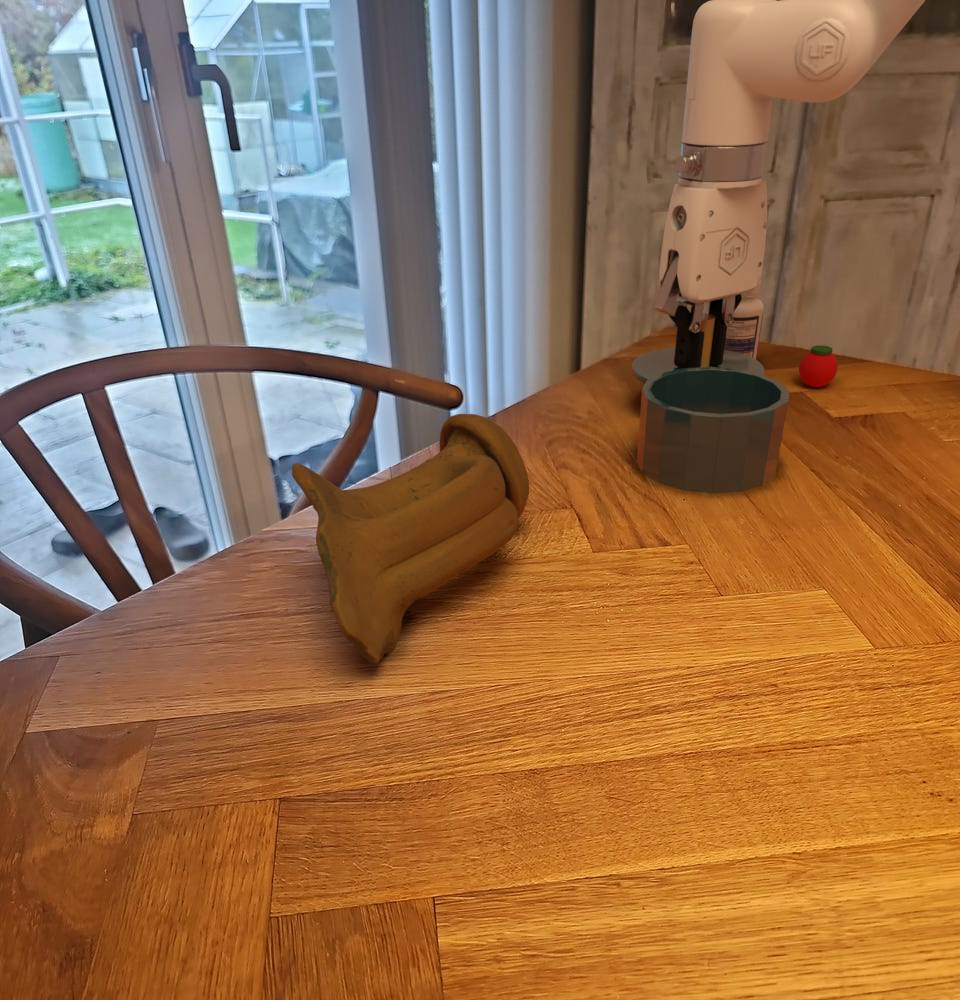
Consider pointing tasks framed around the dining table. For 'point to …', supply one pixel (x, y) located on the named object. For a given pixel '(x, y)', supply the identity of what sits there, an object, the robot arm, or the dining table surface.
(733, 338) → the pill bottle
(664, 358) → the lid
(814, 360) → the toy tomato
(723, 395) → the pot
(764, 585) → the dining table surface
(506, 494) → the brown fluted pedestal
